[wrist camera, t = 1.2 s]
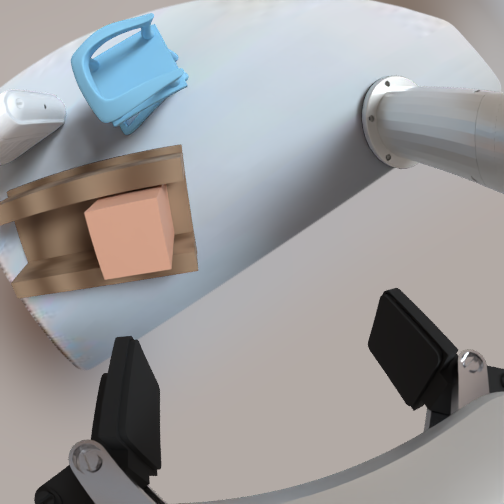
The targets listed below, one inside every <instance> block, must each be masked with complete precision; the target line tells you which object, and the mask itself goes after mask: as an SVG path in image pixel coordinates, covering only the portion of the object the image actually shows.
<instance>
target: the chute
mask: <svg viewBox="0 0 504 504" xmlns="http://www.w3.org/2000/svg"><path fill="white" fill-rule="evenodd" d="M162 184H166V186H167V192H168V198H169V204H170V210H171V215H172V221H173V226H174V232H175V234H174V244H173V256H172V269H169V270H163V271H157V272H151V273H144V274H138V275H132V276H126V277H119V278H113V279H107V280H105V279H104V276H103V273H102V271H101V268H100V265H99V262H98V259H97V256H96V252H95V249H94V246H93V243H92V239H91V236H90V232H89V229H88V225H87V222H86V218H85V214H84V212H85V211H86V210H87V209H88V208H90V207H91V206H92V205H93V204H94V203H95V202H96V201H97V200H98V199H99V198H100V197H103V196H107V195H112V194H116V193H121V192H126V191H130V190H135V189H140V188H145V187H151V186H156V185H162ZM7 195H8V198H6V199H5V200H3V201H1V202H0V225H3V224H6V223H9V222H12V221H14V222H15V225H16V228H17V231H18V235H19V238H20V241H21V244H22V246H23V249H24V252H25V255H26V257H27V260H28V264H27V265H26V266H25V267H24V268H23V269H22V271H21V272H20V273H19V274H18V275H17V277H16V278H15V279H14V280H13V282H12V283H11V285H12V287H13V289H14V291H15V293H16V295H17V297H18V298H25V297H31V296H38V295H45V294H52V293H59V292H66V291H72V290H79V289H85V288H92V287H99V286H105V285H112V284H118V283H124V282H131V281H137V280H144V279H150V278H156V277H162V276H169V275H175V274H181V273H187V272H193V271H198V263H197V248H196V242H195V236H194V230H193V224H192V218H191V211H190V205H189V198H188V191H187V184H186V177H185V169H184V161H183V153H182V145H174V146H168V147H163V148H157V149H152V150H147V151H142V152H137V153H132V154H128V155H123V156H119V157H114V158H110V159H106V160H102V161H98V162H94V163H91V164H87V165H83V166H80V167H76V168H73V169H70V170H66V171H63V172H60V173H57V174H53V175H50V176H47V177H44V178H41V179H38V180H36V181H33V182H30V183H27V184H25V185H22V186H19V187H17V188H14V189H12V190H9V191H8V192H7Z"/></svg>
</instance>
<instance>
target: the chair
mask: <svg viewBox="0 0 504 504" xmlns="http://www.w3.org/2000/svg"><path fill="white" fill-rule="evenodd" d="M153 17H154V14H152V13H150V14H146V15H143V16H140V17H136V18H131V19H127V20H122V21H118V22H115V23H112V24H109V25H107V26H104V27H103V28H101V29H99V30H97V31H96V32H95V33H93V34H92V35H91V36H90V37H89V38H88V39H87V40H86V41H85V42H84V43H83V44H82V45H81V46H80V47H79V48H78V49H77V50H76V52H75V53H74V54H73V56H72V58H71V65H72V69H73V73H74V76H75V79H76V81H77V84H78V86H79V88H80V90H81V92H82V94H83V96H84V97H85V99H86V101H87V102H88V104H89V105H90V107H91V109H92V110H93V112H94V113H95V114H96V116H97V117H98V118H99V120H101V121H102V122H104V123H109V122H112V123H113V125H114V127H117V126H120V128H121V129H122V131H123V133H124V134H125V135H129V134H131V133H132V132H134V131H135V130H136V129H137V128H138V127H139V126H140V125H141V124H142V123H143V122H144V121H145V119H146V118H147V117H148V116H149V115H150V114H151V113H152V112H153V111H154V110H155V109H156V108H157V107H158V106H159V104H160V103H161V102H162V101H163V100H164V99H165V98H166V97H168V96H170V95H172V94H174V93H176V92H178V91H180V90H182V89H184V88H186V87H187V84H186V82H185V81H186V80H187V79H188V75H187V73H185V72H184V70H183V69H181V68H178V66H177V65H176V63H175V61H177V60H178V55H177V54H176V53H174V52H173V51H171V50H169V49H168V48H167V46H166V44H165V42H164V40H163V38H162V36H161V35H160V33H159V31H158V29H157V27H156V25H155V24H153V25H151V22H152V19H153ZM137 28H141V31H139V32H138V33H136V34H134V35H132V36H131V37H129V38H127V39H125V40H124V41H122V42H120V43H118V44H117V45H115V46H113V47H112V48H110V49H108V50H106V51H105V52H103V53H101V54H100V55H98V56H97V57H95V58H94V59H91V56H92V55H93V53H94V52H95V51H96V50H97V49H98V48H99V47H100V46H101V45H103V44H104V43H105V42H107V41H108V40H110V39H112V38H114V37H116V36H118V35H120V34H122V33H125V32H127V31H130V30H133V29H137ZM139 112H140V113H139ZM138 113H139V115H138V116H137V117H136V118H135V120H134V121H133V122H132V123H131V124H130V125H129V126H128V125H127V123H126V121H127V120H128V119H130V118H131V117H133V116H135V115H136V114H138Z"/></svg>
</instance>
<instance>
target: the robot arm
mask: <svg viewBox="0 0 504 504" xmlns="http://www.w3.org/2000/svg"><path fill="white" fill-rule="evenodd" d="M362 123H363V130H364V134H365V137H366V140H367V142H368V144H369V147H370V148H371V150H372V151H373V153H374V154H375V155H376V156H377V157H378V158H379V159H380V160H381V161H382V162H384V163H385V164H387V165H389V166H392V167H395V168H399V169H407V168H410V167H413V166H415V165H417V164H418V163H422V164H425V165H428V166H431V167H434V168H437V169H440V170H443V171H446V172H449V173H452V174H455V175H458V176H460V177H463V178H465V179H468V180H471V181H473V182H476V183H478V184H480V185H483V186H485V187H488V188H490V189H493V190H495V191H497V192H500V193H503V194H504V93H503V92H496V91H488V90H479V89H469V88H454V87H419V86H418V85H417V84H415V83H414V82H413V81H411V80H410V79H408V78H405V77H402V76H387V77H384V78H381V79H379V80H378V81H376V82H375V83H374V84H373V85H372V86H371V87H370V89H369V91H368V92H367V94H366V97H365V100H364V103H363V109H362ZM368 347H369V349H370V351H371V353H372V354H373V355H374V357H375V358H376V360H377V361H378V363H379V364H380V365H381V367H382V368H383V370H384V371H385V373H386V374H387V376H388V377H389V379H390V380H391V382H392V383H393V385H394V386H395V387H396V389H397V391H398V392H399V394H400V395H401V397H402V398H403V400H404V401H405V403H406V404H407V405H408V406H411V407H412V409H413V410H416V409H418V408H420V407H422V406H423V405H424V404H425V405H426V407H427V413H426V420H425V427H424V432H423V433H422V434H420V435H418V436H416V437H415V438H413V439H411V440H409V441H407V442H406V443H404V444H402V445H400V446H398V447H396V448H394V449H392V450H390V451H388V452H386V453H384V454H382V455H380V456H377V457H375V458H373V459H371V460H369V461H367V462H364V463H362V464H359V465H357V466H354V467H352V468H349V469H346V470H344V471H341V472H339V473H336V474H333V475H330V476H327V477H324V478H321V479H318V480H315V481H311V482H308V483H305V484H302V485H298V486H294V487H290V488H286V489H282V490H278V491H273V492H269V493H264V494H258V495H253V496H247V497H241V498H234V499H226V500H218V501H209V502H198V503H182V504H504V369H501V368H496V367H491V366H487V364H486V361H485V359H484V358H483V356H482V355H481V354H480V353H478V352H476V351H474V350H468V349H467V350H464V351H462V352H461V353H460V354H459V356H458V355H457V354H456V353H457V351H458V349H457V348H456V347H455V346H454V345H453V343H452V342H451V341H450V340H449V339H448V338H447V337H446V336H445V335H444V334H443V333H442V332H441V331H440V330H439V329H438V327H437V326H435V324H434V323H433V322H432V321H431V320H430V319H429V318H428V317H427V316H426V315H425V314H424V313H423V312H422V311H421V310H420V309H419V308H418V307H417V306H416V305H415V304H414V303H413V302H412V301H411V300H410V299H409V298H408V297H407V296H406V295H405V294H404V293H403V292H401V290H400V289H398V288H394V289H391V290H387V291H384V293H383V295H382V296H381V297H380V300H379V304H378V309H377V312H376V316H375V320H374V323H373V327H372V330H371V334H370V337H369V341H368ZM69 464H70V465H69V466H67V467H66V468H65V469H63V470H62V471H61V472H60V473H58V474H57V475H56V476H54V477H53V478H52V479H50V480H49V481H48V482H46V483H45V484H43V485H42V486H41V487H39V489H38V490H37V491H36V493H35V500H34V501H35V504H167V503H166V502H165V501H164V500H163V499H162V498H161V497H160V496H159V495H158V494H157V493H156V492H155V491H154V490H153V489H152V488H151V487H150V486H149V485H148V484H149V476H157V469H161V448H160V389H159V385H158V383H157V381H156V379H155V376H154V374H153V372H152V370H151V368H150V366H149V364H148V361H147V359H146V357H145V355H144V353H143V350H142V348H141V346H140V343H139V341H138V340H134V339H133V337H132V336H125V337H117V338H116V339H115V342H114V347H113V351H112V356H111V360H110V365H109V370H108V373H104V374H103V375H102V377H101V381H100V386H99V391H98V396H97V402H96V408H95V414H94V421H93V428H92V435H91V440H82V441H80V442H77V443H76V444H75V445H74V446H73V447H72V449H71V450H70V453H69ZM180 504H181V503H180Z"/></svg>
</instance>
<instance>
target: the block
mask: <svg viewBox="0 0 504 504" xmlns="http://www.w3.org/2000/svg"><path fill="white" fill-rule="evenodd" d="M84 214H85V218H86V222H87V225H88V229H89V232H90V236H91V239H92V243H93V246H94V249H95V252H96V256H97V259H98V262H99V265H100V268H101V271H102V273H103V276H104V279H105V280H107V279H113V278H119V277H126V276H132V275H138V274H144V273H151V272H157V271H163V270H169V269H172V256H173V244H174V234H175V232H174V226H173V221H172V215H171V210H170V204H169V198H168V192H167V186H166V184H162V185H156V186H151V187H145V188H140V189H135V190H130V191H126V192H121V193H116V194H112V195H107V196H103V197H100V198H99V199H98V200H97V201H96V202H95V203H94V204H93V205H92V206H91V207H90V208H88V209H87V210H86V211H85V212H84Z"/></svg>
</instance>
